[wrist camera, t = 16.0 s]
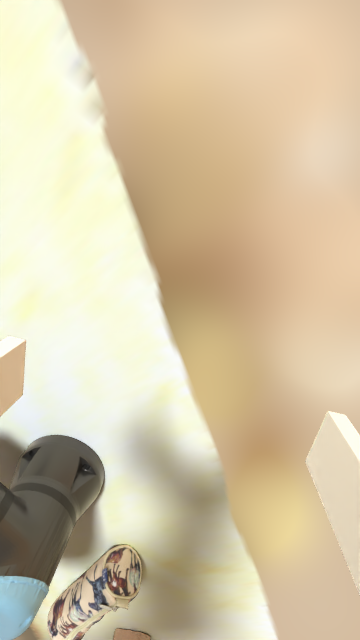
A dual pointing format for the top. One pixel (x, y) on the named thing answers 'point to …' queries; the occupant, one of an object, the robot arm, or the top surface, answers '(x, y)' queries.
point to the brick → (129, 635)
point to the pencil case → (96, 594)
